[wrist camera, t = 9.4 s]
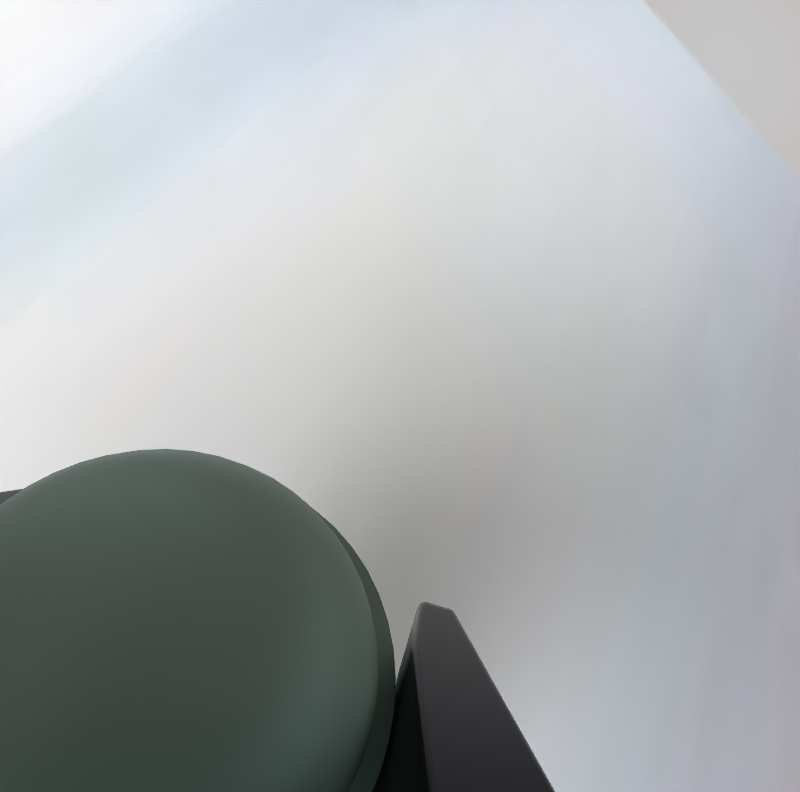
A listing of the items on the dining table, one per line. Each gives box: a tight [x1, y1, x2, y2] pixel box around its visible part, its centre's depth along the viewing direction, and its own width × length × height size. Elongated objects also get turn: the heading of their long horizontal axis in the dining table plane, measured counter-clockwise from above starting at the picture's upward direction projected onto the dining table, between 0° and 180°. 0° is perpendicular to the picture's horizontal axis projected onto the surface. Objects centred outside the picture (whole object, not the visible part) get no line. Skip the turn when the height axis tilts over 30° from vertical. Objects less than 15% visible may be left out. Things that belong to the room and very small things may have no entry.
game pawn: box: [0, 449, 396, 792], centre depth 9 cm, size 6×6×11 cm
